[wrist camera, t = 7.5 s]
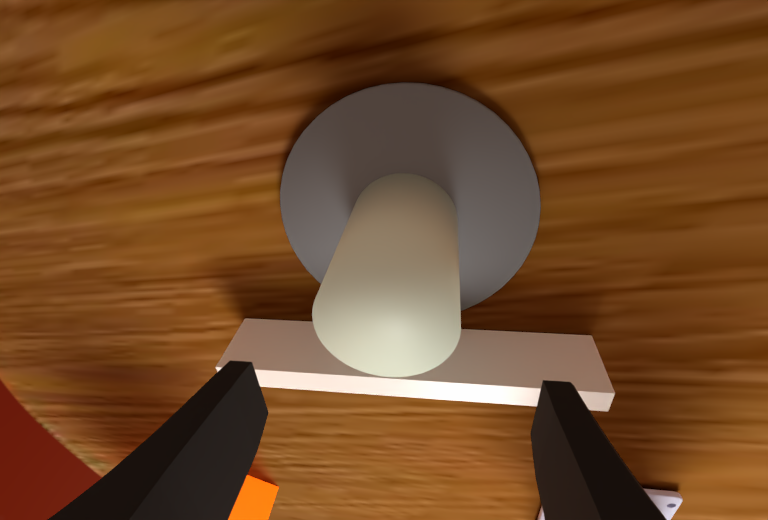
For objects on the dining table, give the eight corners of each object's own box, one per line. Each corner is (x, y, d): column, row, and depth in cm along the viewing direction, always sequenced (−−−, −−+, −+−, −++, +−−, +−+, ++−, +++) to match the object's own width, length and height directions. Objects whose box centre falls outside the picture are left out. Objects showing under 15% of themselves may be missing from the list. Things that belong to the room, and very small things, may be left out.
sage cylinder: (454, 267, 19) (456, 382, 14) (357, 264, 19) (321, 372, 14) (460, 173, 16) (466, 267, 11) (348, 172, 17) (301, 261, 12)
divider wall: (586, 352, 21) (608, 411, 18) (249, 334, 24) (222, 383, 21) (591, 335, 21) (615, 393, 18) (245, 318, 23) (215, 366, 20)
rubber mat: (520, 318, 21) (521, 323, 20) (304, 308, 22) (301, 313, 22) (561, 77, 14) (564, 79, 14) (258, 86, 16) (255, 88, 16)
